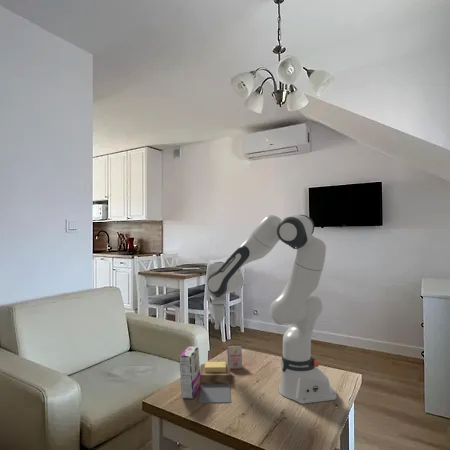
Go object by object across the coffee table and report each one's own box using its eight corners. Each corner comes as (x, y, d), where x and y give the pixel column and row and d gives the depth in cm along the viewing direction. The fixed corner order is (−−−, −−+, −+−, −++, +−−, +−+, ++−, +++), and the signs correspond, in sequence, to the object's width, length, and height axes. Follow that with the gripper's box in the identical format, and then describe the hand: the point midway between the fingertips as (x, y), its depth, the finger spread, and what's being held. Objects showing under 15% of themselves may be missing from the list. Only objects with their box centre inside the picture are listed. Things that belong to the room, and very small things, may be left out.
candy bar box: (189, 385, 136) (187, 345, 137) (201, 385, 135) (199, 346, 136) (180, 398, 125) (178, 355, 126) (193, 399, 124) (190, 356, 125)
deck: (229, 373, 148) (229, 364, 148) (230, 384, 137) (230, 375, 137) (201, 373, 148) (201, 364, 148) (199, 384, 137) (199, 375, 137)
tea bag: (226, 366, 156) (226, 345, 156) (240, 365, 157) (240, 344, 157) (227, 369, 153) (227, 348, 153) (241, 368, 154) (242, 347, 154)
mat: (229, 384, 137) (229, 384, 137) (230, 402, 123) (230, 402, 123) (200, 385, 137) (200, 384, 137) (199, 403, 122) (199, 402, 122)
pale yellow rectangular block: (225, 366, 146) (225, 361, 146) (225, 371, 140) (225, 367, 140) (205, 366, 146) (205, 361, 146) (204, 372, 140) (204, 367, 140)
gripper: (205, 291, 162) (205, 319, 162) (212, 301, 142) (212, 333, 142) (218, 291, 163) (217, 319, 163) (226, 301, 143) (226, 332, 143)
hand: (215, 325), depth 152 cm, fingers open, 8 cm apart
